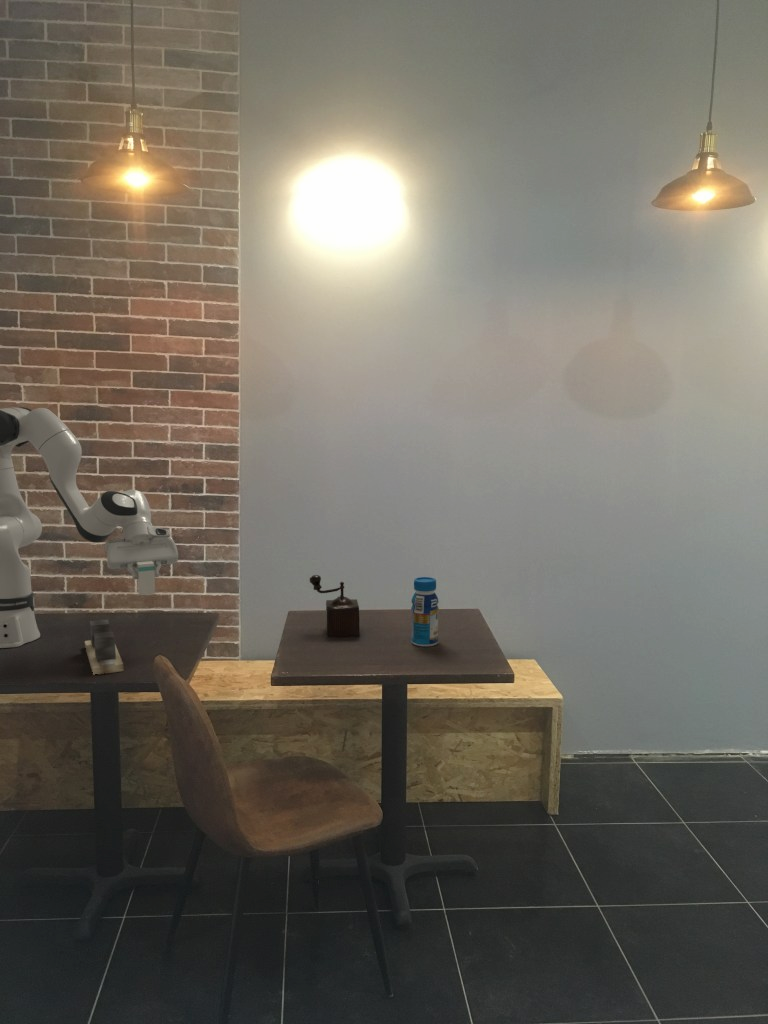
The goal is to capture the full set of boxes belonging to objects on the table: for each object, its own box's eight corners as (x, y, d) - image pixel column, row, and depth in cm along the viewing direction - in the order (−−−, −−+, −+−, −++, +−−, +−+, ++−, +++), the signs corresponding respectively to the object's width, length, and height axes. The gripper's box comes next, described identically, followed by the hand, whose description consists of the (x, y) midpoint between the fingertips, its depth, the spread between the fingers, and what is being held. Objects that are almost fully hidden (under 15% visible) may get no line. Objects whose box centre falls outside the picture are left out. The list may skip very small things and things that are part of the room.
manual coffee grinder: (357, 626, 270) (357, 572, 267) (360, 636, 259) (359, 580, 256) (310, 627, 268) (309, 573, 265) (310, 638, 257) (309, 582, 254)
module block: (139, 595, 238) (138, 564, 237) (137, 591, 242) (136, 561, 240) (155, 593, 240) (154, 563, 238) (153, 590, 244) (151, 560, 242)
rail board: (93, 675, 225) (91, 643, 224) (85, 647, 248) (83, 618, 247) (123, 670, 228) (121, 639, 227) (112, 643, 252) (111, 615, 250)
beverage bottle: (406, 640, 255) (407, 577, 251) (432, 637, 257) (432, 575, 254) (416, 648, 247) (417, 583, 244) (442, 645, 249) (443, 581, 246)
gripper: (103, 534, 240) (109, 574, 233) (174, 529, 248) (182, 568, 241) (102, 546, 245) (108, 586, 238) (172, 541, 253) (179, 579, 246)
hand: (146, 577), depth 239 cm, fingers closed on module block, 4 cm apart
